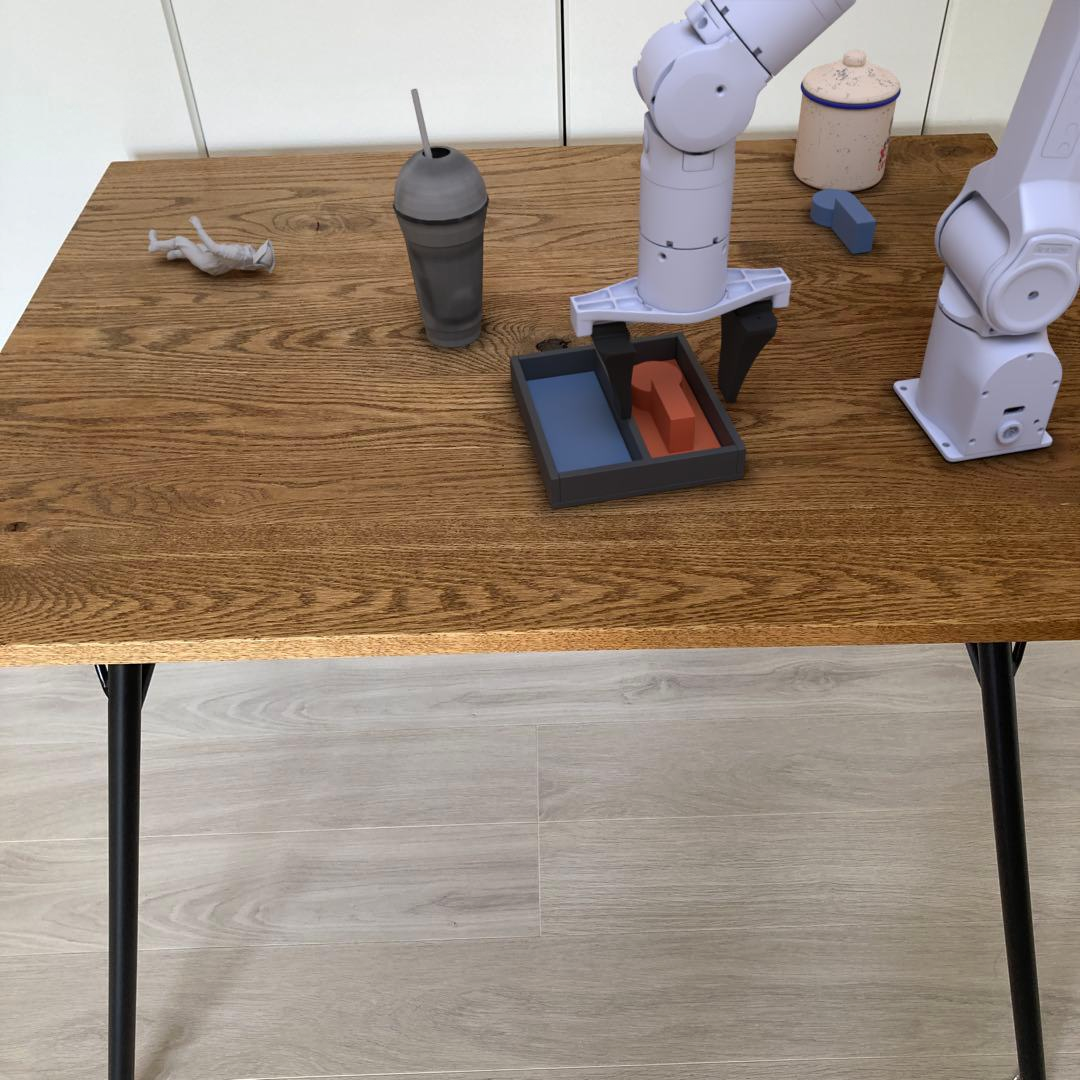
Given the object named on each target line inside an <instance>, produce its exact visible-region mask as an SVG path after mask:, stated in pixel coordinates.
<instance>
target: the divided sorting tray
mask: <svg viewBox="0 0 1080 1080" xmlns="http://www.w3.org/2000/svg"><path fill="white" fill-rule="evenodd" d="M630 341H631V343H632V345H633V347H634V349H635V351H636V353H637V354H636V357H635V361H634V366H636V365H638V364H640V363H643V362H649V361H660V362H666V363H669V364H671V365H673V366H675V367H677V368H678V369H679V370H680V372H681V374H682V391H683V393H684V395H685V397H686V398H687V400H688V402H689V404H690V406H691V408H692V410H693V412H694V414H695V430H694V444H693V450H687V451H681V452H675V453H669V452H668V450H667V448H666V446H665V444H664V441H663V439H662V437H661V435H660V433H659V431H658V429H657V426H656V424H655V422H654V420H653V418H652V416H651V414H650V411H645V410H641V409H639V408H637V407H635V406H634V405H632V414H631V419H626V420H621V419H620V417H619V415H618V412H617V410H616V408H615V405H614V398H613V392H612V387H611V383H610V379H609V376H608V372H607V369H606V367H605V364H604V363H603V361H602V359H601V357H600V355H599V353H598V351H597V349H596V347H595V345H594V343H593V344H586V345H579V346H572V347H565V348H559V349H550V350H543V351H536V352H531V353H524V354H517V355H510V356H509V369H510V370H509V372H510V386H511V389H512V393H513V395H514V399H515V401H516V404H517V407H518V410H519V413H520V416H521V420H522V422H523V426H524V428H525V431H526V434H527V438H528V440H529V443H530V447H531V449H532V452H533V456H534V458H535V461H536V464H537V468H538V471H539V474H540V477H541V480H542V483H543V487H544V490H545V492H546V495H547V498H548V501H549V504H550V508H551V509H552V510H559V509H566V508H570V507H577V506H583V505H591V504H596V503H603V502H609V501H613V500H615V501H616V500H620V499H626V498H633V497H638V496H645V495H646V496H647V495H651V494H657V493H658V494H659V493H663V492H668V491H669V492H670V491H676V490H683V489H688V488H695V487H699V486H700V487H701V486H707V485H714V484H719V483H725V482H731V481H737V480H738V481H739V480H743V479H744V475H745V474H744V473H745V467H746V466H745V465H746V457H747V447H746V445H745V443H744V441H743V440H742V438H741V436H740V434H739V432H738V430H737V429H736V427H735V425H734V423H733V422H732V419H731V418H730V416H729V414H728V412H727V410H726V408H725V407H724V404H723V403H722V401H721V400H720V397H719V396H718V394H717V392H716V390H715V388H714V387H713V384H712V383H711V381H710V379H709V378H708V376H707V374H706V372H705V370H704V368H703V366H702V365H701V363H700V361H699V359H698V356H696V354H695V352H694V350H693V348H692V346H691V345H690V343H689V341H688V338H687V337H686V335H685V333H684V332H683V331H675V332H669V333H662V334H655V335H648V336H642V337H635V338H630Z"/></svg>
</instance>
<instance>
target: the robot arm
mask: <svg viewBox="0 0 1080 1080" xmlns="http://www.w3.org/2000/svg"><path fill="white" fill-rule="evenodd" d="M856 3H857V0H704V1H703V2H702V3H701V2H700V1H699V0H694V1H693V2H692V3H691V4H690V5H689V6H688V7H687V8H686V9H685V10H684V15H685V17H686V18H683V19H679V22H677V23H675V22H674V21H672V22H670V23H667V24H666V25H664V26H662V27H660V28H659V29H658V30H657V31H656V32H655V33H653V34H652V35H651V37H650V38H649V39H648V40H647V41H646V43H645V44H644V46H643V48H642V49H641V51H640V55H641V57H640V60H638V59H637V60H638V61H637V64H635V65H634V66H633V68H632V78H633V79H632V80H633V83H634V86H635V89H636V91H637V93H638V95H639V97H640V99H641V100H642V102H643V103H644V104H645V105H646V108H647V110H648V111H646V112H645V113H644V115H643V133H642V148H643V150H642V153H641V156H640V167H639V168H640V169H639V170H640V171H639V205H638V208H639V209H638V249H637V250H638V251H637V252H638V254H637V255H638V256H637V276H634V277H630V278H628V279H626V280H623V281H619V282H617V283H613V284H612V285H608V286H606V287H604V288H601V289H598V290H595V291H592V292H591V291H590V292H588V293H583V294H579V295H574V296H573V295H572V296H570V297H569V309H570V311H569V313H570V324H571V326H572V330H573V331H574V333H575V336H576V337H577V338H581V337H588V336H590V338H591V341H592V343H593V344H594V345H595V347H596V349H597V351H598V353H599V355H600V357H601V359H602V361H603V363H604V364H605V367H606V369H607V372H608V376H609V379H610V383H611V387H612V392H613V398H614V405H615V408H616V410H617V412H618V415H619V417H620V419H621V420H626V419H631V414H632V395H631V382H632V373H633V367H634V361H635V357H636V354H637V353H636V351H635V349H634V347H633V345H632V343H631V341H630V339H631V332H630V331H629V329H628V327H627V325H633V324H640V323H650V324H670V325H690V324H691V325H692V324H697V323H703V322H705V321H709V320H711V319H714V318H716V317H719V316H720V330H721V331H720V352H719V357H718V368H717V389H718V391H719V393H720V395H721V396H722V398H723V399H724V401H725V403H726V404H727V405H729V404H735V403H736V402H737V399H738V396H739V394H740V391H741V389H742V386H743V384H744V382H745V379H746V378H747V375H748V373H749V371H750V369H751V367H752V366H753V364H754V362H755V360H756V359H757V357H758V356H759V355H760V354H761V352H762V350H763V349H764V348H765V347H766V346H767V345H768V343H769V342H771V340H772V339H773V338H774V337H776V334H777V330H778V324H779V321H778V317H777V316H776V315H775V313H774V312H773V309H781V308H787V307H789V306H790V305H789V304H790V297H791V288H792V281H791V279H790V278H789V276H788V275H787V273H786V272H785V271H784V269H783V268H782V267H781V266H780V267H771V268H741V267H728V261H729V248H730V237H731V236H730V235H731V223H732V222H731V221H732V211H733V201H734V186H735V174H736V173H735V172H736V157H735V155H736V145H737V144H736V143H737V137H738V136H740V135H742V134H743V133H744V132H745V130H746V128H747V127H748V126H749V124H750V123H751V120H752V118H753V115H754V113H755V109H756V105H757V104H756V103H757V99H758V96H759V94H760V93H761V92H762V91H763V89H765V88H766V86H767V85H768V83H769V82H770V81H771V80H772V79H774V77H776V76H777V75H778V74H779V73H780V72H782V70H783V69H785V68H786V67H787V66H788V65H789V64H790V63H791V62H792V61H794V60H795V58H797V57H798V56H799V55H800V54H801V53H802V52H803V51H804V50H806V49H807V48H808V47H809V46H810V45H811V44H812V43H813V42H814V41H815V40H817V38H819V37H820V36H821V35H822V34H823V33H824V32H825V31H826V30H827V29H828V28H830V27H831V26H832V25H833V24H835V22H837V21H838V20H839V19H840V18H841V17H842V16H843V15H844V14H845V13H847V11H848V10H850V9H851V8H852V7H853V6H855V4H856ZM1037 39H1038V40H1037V42H1036V45H1035V48H1034V50H1033V54H1032V56H1031V59H1030V61H1029V63H1028V66H1027V69H1026V72H1025V75H1024V77H1023V80H1022V82H1021V85H1020V88H1019V91H1018V94H1017V96H1016V99H1015V100H1014V101H1015V102H1014V104H1013V106H1012V109H1011V113H1010V114H1009V118H1008V121H1007V123H1006V126H1005V128H1004V131H1003V134H1002V136H1001V140H1000V142H999V144H998V147H997V150H996V152H995V155H994V156H993V157H991V158H990V159H989V158H988V160H987V159H986V160H985V161H983V162H981V163H979V164H978V165H975V166H973V167H972V168H971V169H969V173H968V175H967V178H966V181H965V183H964V185H963V187H962V189H961V191H960V192H959V194H958V195H957V197H956V198H955V199H954V200H953V201H952V202H951V203H950V204H949V206H948V207H947V208H946V209H945V210H944V211H943V213H942V215H940V218H939V220H938V222H937V223H936V227H935V231H934V236H933V237H934V238H933V239H934V241H933V243H934V248H935V251H936V253H937V256H938V258H939V259H940V260H941V261H942V262H943V263H944V264H945V266H944V271H943V275H942V279H941V280H942V281H941V282H942V283H941V285H940V287H939V290H938V294H937V300H936V304H935V309H934V313H933V318H932V322H931V326H930V331H929V335H928V339H927V345H926V348H925V353H924V358H923V362H922V367H921V371H920V375H919V377H918V378H917V377H916V378H909V379H905V380H904V379H903V380H897V381H895V382H894V383H893V387H892V388H893V390H894V392H895V393H896V394H897V396H898V397H899V398H900V400H901V401H902V402H903V404H904V405H905V407H906V408H907V410H908V411H909V413H911V415H912V416H913V417H914V420H916V422H917V423H918V424H919V425H920V427H921V428H922V429H923V431H924V432H925V434H926V435H927V436H928V438H929V440H930V441H931V442H932V443H933V444H934V446H935V447H936V449H937V450H938V451H939V453H940V454H941V455H942V457H943V458H944V459H945V460H946V461H948V462H951V463H955V462H961V461H967V460H974V459H981V458H986V457H991V456H992V457H993V456H998V455H999V456H1000V455H1003V454H1010V453H1015V452H1017V453H1018V452H1024V451H1029V450H1034V449H1035V450H1036V449H1042V448H1047V447H1050V446H1051V445H1052V444H1053V437H1052V436H1051V435H1050V434H1049V433H1048V432H1047V431H1046V428H1047V426H1048V422H1049V420H1050V417H1051V413H1052V412H1053V411H1052V410H1053V408H1054V405H1055V402H1056V398H1057V395H1058V392H1059V390H1060V389H1059V388H1060V385H1061V382H1062V378H1063V367H1062V363H1061V362H1060V360H1059V357H1058V356H1057V354H1056V353H1055V351H1054V350H1053V348H1052V346H1051V343H1050V341H1049V336H1048V331H1047V328H1048V326H1049V325H1051V324H1052V323H1054V322H1055V321H1056V320H1057V319H1059V318H1060V317H1061V316H1062V315H1063V314H1064V313H1065V312H1066V311H1067V310H1068V308H1069V307H1071V305H1072V303H1073V302H1074V300H1075V299H1076V295H1077V294H1078V291H1079V288H1080V0H1052V2H1051V4H1050V7H1049V10H1048V12H1047V15H1046V18H1045V20H1044V23H1043V26H1042V28H1041V31H1040V34H1039V37H1038V38H1037Z"/></svg>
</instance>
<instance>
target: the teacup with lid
mask: <svg viewBox="0 0 1080 1080" xmlns="http://www.w3.org/2000/svg"><path fill="white" fill-rule="evenodd" d="M800 91H801V93H802V94H801V102H800V110H799V117H798V118H799V120H798V127H797V135H796V144H795V152H794V161H793V173H794V174H795V176H796V177H797V178H798V179H799V181H801V182H802V183H804V184H805V185H807V186H810V187H812V188H814V189H818V190H820V191H822V190H827V189H837V190H843V191H847V192H849V193H852V192H859V191H863V190H867V189H869V188H871V187H874V186H875V185H876V184H878V183H879V182H880V181H881V180H882V178H883V176H884V174H885V169H886V162H887V156H888V150H889V145H890V138H891V134H892V127H893V121H894V117H895V111H896V105H897V100H898V98H899V97H900V95H901V92H902V89H901V83H900V81H899V79H898V77H897V76H896V75H895V74H894V73H893V72H892V71H890V70H888V69H886V68H884V67H881V66H879V65H878V66H877V65H876V64H874V63H872V62H870V61H868V60H867V54H866V53H865V52H864V51H863V50H860V49H849V50H847V51H845V53H844V54H843V58H842V59H838V60H836V61H834V62H831V63H825V64H822V65H818V66H816V67H814V68H812V69H810V70H809V71H807V72H806V74H805V75H804V76H803V79H802V81H801V83H800Z"/></svg>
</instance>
